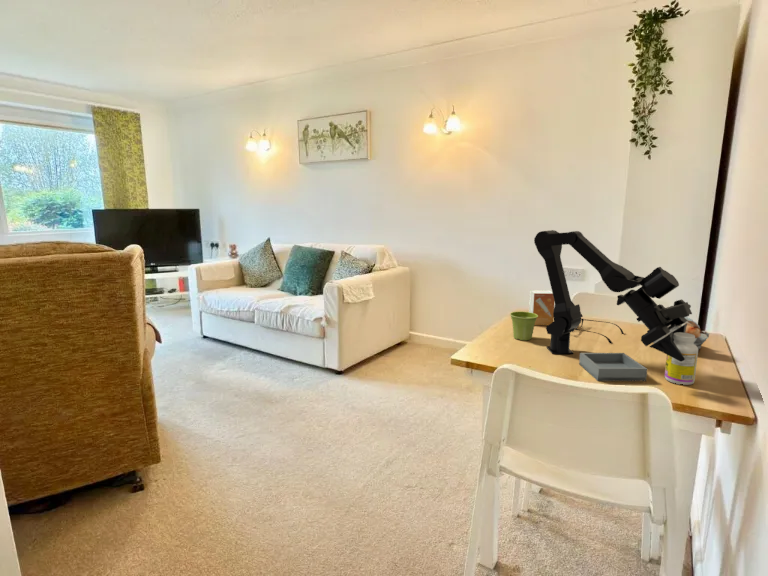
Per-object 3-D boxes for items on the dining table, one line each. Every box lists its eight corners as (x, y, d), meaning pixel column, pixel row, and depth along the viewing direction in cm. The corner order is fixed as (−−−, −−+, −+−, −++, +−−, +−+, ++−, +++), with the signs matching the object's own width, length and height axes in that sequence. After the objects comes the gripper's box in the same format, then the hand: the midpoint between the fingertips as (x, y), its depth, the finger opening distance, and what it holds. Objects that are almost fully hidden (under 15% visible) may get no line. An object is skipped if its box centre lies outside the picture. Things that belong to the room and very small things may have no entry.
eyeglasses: (581, 327, 168) (582, 317, 168) (626, 335, 157) (627, 324, 157) (564, 336, 157) (564, 325, 156) (611, 345, 146) (612, 334, 145)
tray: (579, 364, 129) (580, 352, 128) (622, 364, 128) (623, 352, 127) (597, 381, 116) (598, 368, 116) (646, 381, 116) (647, 368, 115)
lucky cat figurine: (707, 346, 142) (722, 316, 133) (691, 368, 136) (705, 337, 128) (659, 325, 151) (669, 295, 143) (642, 344, 146) (652, 314, 138)
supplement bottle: (669, 374, 120) (674, 329, 118) (697, 381, 115) (703, 334, 113) (660, 380, 116) (665, 334, 114) (689, 388, 111) (695, 340, 109)
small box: (532, 325, 170) (533, 293, 167) (528, 321, 176) (529, 290, 173) (553, 325, 169) (555, 293, 167) (548, 321, 175) (550, 290, 173)
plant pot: (530, 334, 159) (532, 311, 157) (540, 341, 150) (542, 317, 148) (505, 334, 159) (506, 311, 157) (514, 342, 150) (515, 318, 148)
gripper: (659, 296, 108) (707, 349, 102) (682, 286, 120) (726, 332, 114) (623, 321, 115) (666, 371, 109) (647, 309, 127) (687, 354, 121)
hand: (688, 356), depth 113 cm, fingers open, 8 cm apart
